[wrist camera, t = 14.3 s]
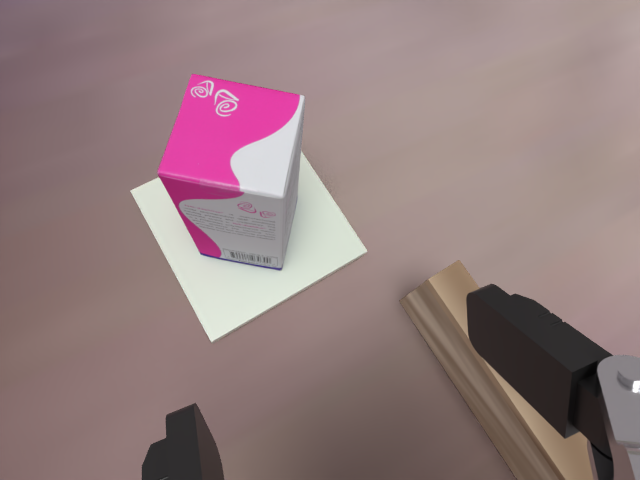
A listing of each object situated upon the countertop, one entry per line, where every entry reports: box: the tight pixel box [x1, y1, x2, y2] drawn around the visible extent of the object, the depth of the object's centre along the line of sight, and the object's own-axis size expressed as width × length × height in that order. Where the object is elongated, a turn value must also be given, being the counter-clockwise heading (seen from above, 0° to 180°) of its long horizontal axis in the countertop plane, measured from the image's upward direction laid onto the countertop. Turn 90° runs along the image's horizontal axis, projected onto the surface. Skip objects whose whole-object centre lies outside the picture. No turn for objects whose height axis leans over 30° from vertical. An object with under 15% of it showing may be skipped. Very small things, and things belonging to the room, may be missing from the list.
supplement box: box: [157, 74, 305, 271], centre depth 25 cm, size 6×6×12 cm
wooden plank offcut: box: [400, 260, 593, 480], centre depth 25 cm, size 2×20×7 cm, turn 32°
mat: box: [131, 151, 367, 343], centre depth 31 cm, size 12×12×1 cm
